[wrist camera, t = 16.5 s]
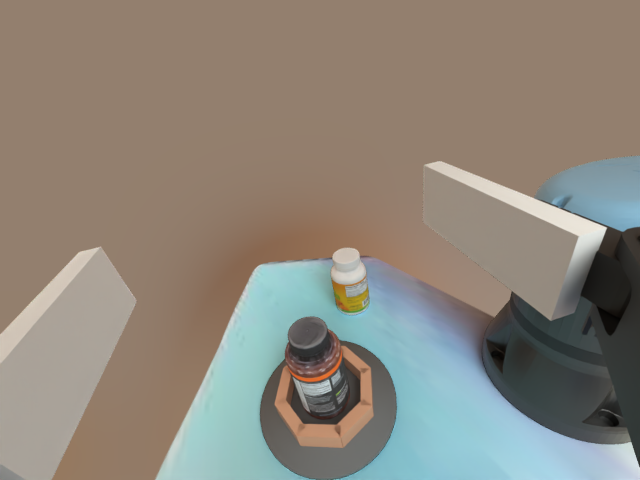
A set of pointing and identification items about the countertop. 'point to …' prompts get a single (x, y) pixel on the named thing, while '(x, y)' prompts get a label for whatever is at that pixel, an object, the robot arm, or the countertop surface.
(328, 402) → the supplement bottle
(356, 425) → the collar
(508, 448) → the countertop surface
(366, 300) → the supplement bottle
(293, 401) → the mat
